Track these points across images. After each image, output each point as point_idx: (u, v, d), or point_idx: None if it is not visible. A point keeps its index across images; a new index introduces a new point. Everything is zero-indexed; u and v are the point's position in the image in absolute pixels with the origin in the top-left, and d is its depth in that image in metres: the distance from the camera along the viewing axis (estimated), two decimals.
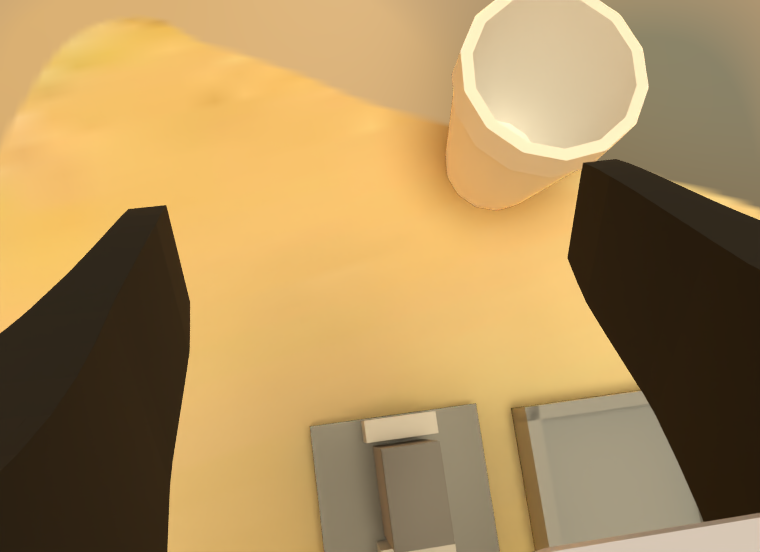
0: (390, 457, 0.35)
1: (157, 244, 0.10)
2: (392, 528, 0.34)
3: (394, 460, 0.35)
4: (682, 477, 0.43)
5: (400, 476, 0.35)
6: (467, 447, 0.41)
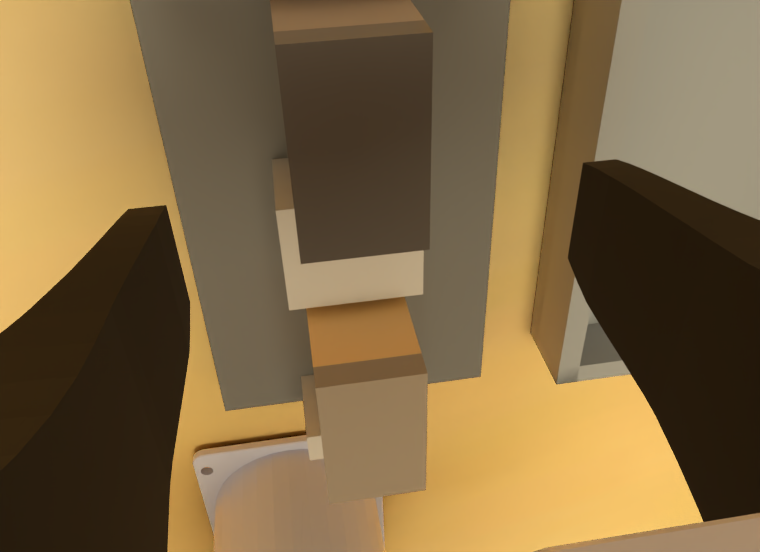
0: (298, 67, 0.13)
1: (158, 244, 0.10)
2: (297, 218, 0.15)
3: (309, 75, 0.13)
4: None
5: (322, 114, 0.14)
6: None
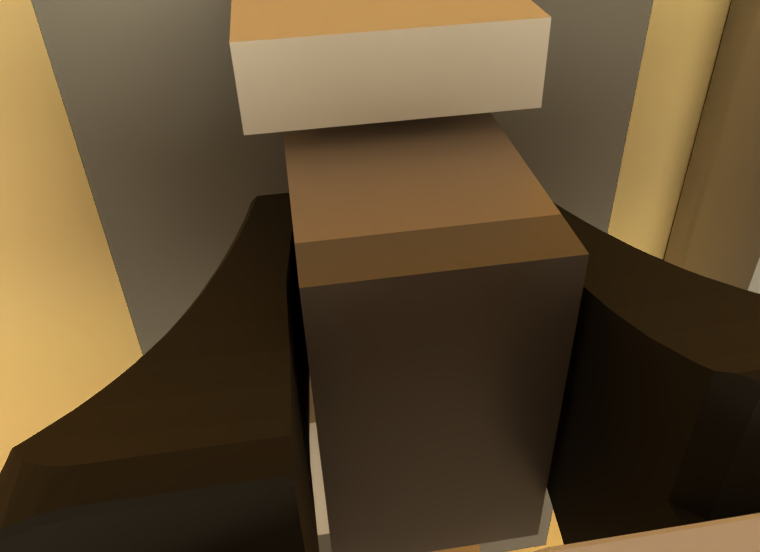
0: (342, 318, 0.07)
1: None
2: None
3: (360, 328, 0.07)
4: None
5: (380, 381, 0.08)
6: (587, 92, 0.13)
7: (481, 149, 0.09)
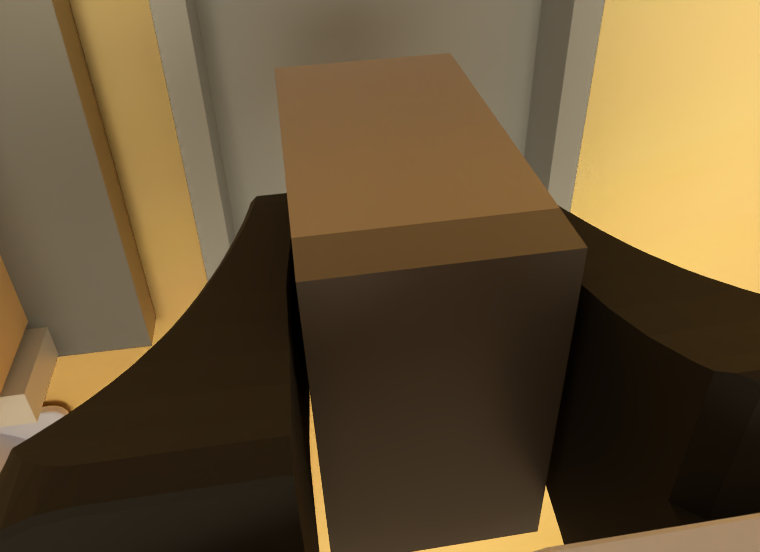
0: (339, 313, 0.07)
1: None
2: (328, 509, 0.09)
3: (357, 323, 0.07)
4: None
5: (378, 376, 0.08)
6: None
7: (479, 144, 0.09)
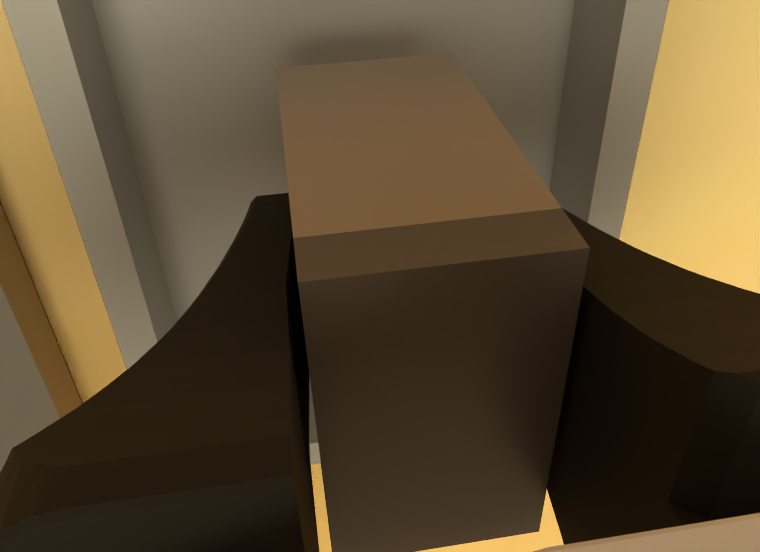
0: (341, 313, 0.07)
1: None
2: (329, 510, 0.09)
3: (359, 323, 0.07)
4: (548, 6, 0.14)
5: (379, 376, 0.08)
6: None
7: (481, 144, 0.09)
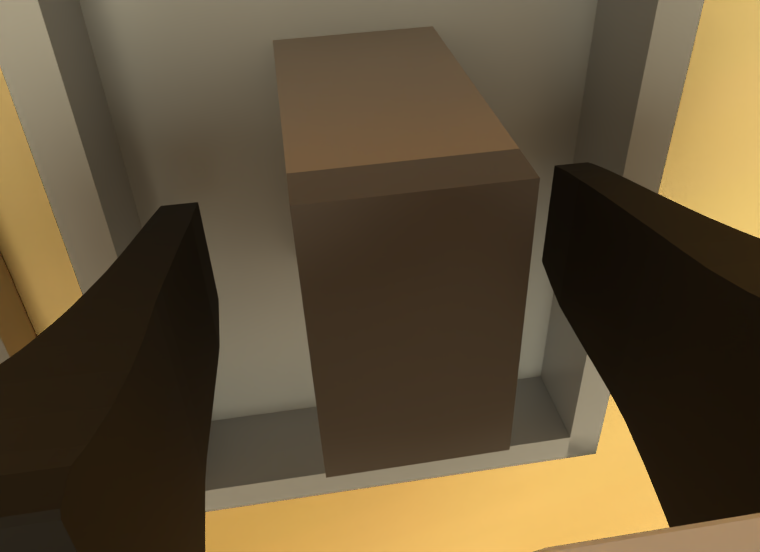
0: (327, 235, 0.08)
1: (192, 240, 0.10)
2: (321, 424, 0.10)
3: (343, 244, 0.09)
4: (568, 19, 0.13)
5: (362, 295, 0.09)
6: None
7: (453, 99, 0.10)
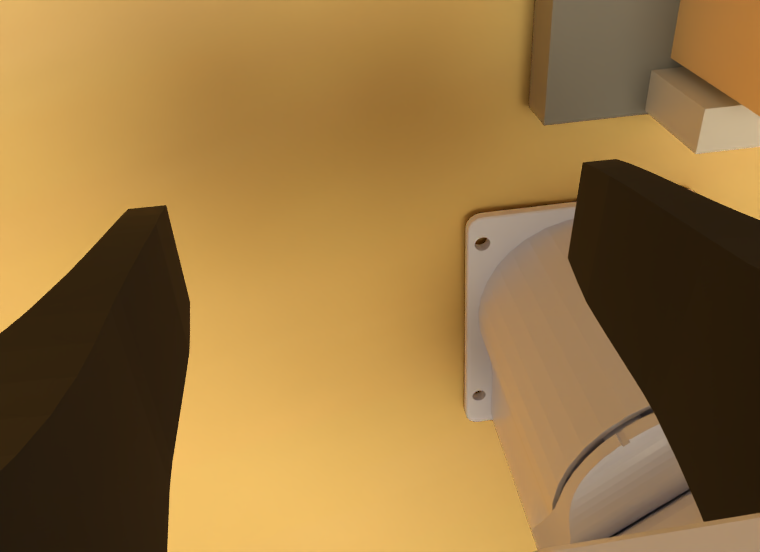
0: None
1: (157, 244, 0.10)
2: None
3: None
4: None
5: None
6: None
7: None
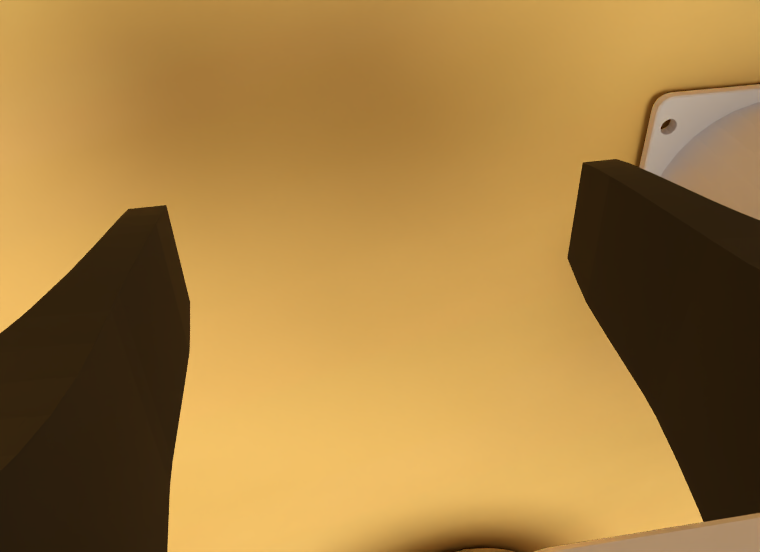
0: None
1: (157, 244, 0.10)
2: None
3: None
4: None
5: None
6: None
7: None
